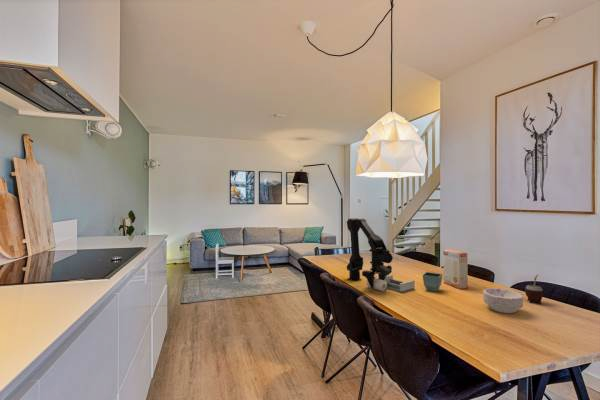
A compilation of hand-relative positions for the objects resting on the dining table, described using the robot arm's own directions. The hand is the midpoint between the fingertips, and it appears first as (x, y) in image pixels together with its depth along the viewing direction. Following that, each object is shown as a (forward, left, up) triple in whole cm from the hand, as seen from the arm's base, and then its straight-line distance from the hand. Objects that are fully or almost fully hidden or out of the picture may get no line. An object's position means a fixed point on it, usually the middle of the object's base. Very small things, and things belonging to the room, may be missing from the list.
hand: (376, 287), depth 171 cm
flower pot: (+20, +24, -1) cm, 31 cm away
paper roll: (0, 0, +2) cm, 2 cm away
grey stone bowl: (+56, +22, -1) cm, 60 cm away
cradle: (+5, +11, -1) cm, 12 cm away
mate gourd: (+61, +46, -1) cm, 76 cm away
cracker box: (+23, +43, -1) cm, 49 cm away
